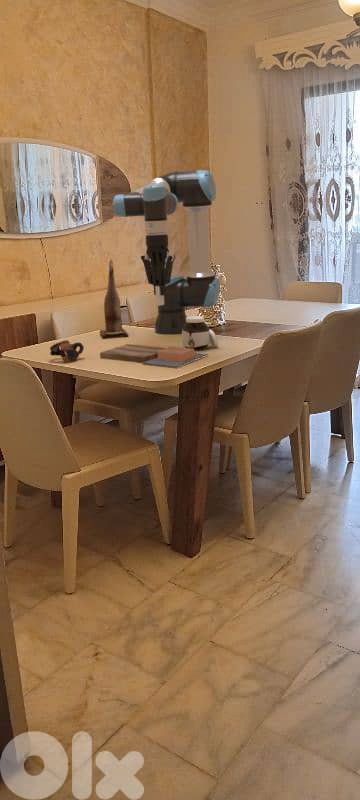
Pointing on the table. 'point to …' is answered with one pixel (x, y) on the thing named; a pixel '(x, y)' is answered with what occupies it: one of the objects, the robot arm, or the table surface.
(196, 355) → the charcoal mat
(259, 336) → the table surface
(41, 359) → the table surface
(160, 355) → the terracotta tile
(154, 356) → the walnut riser
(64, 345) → the pottery mug
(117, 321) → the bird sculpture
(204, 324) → the spread jar
